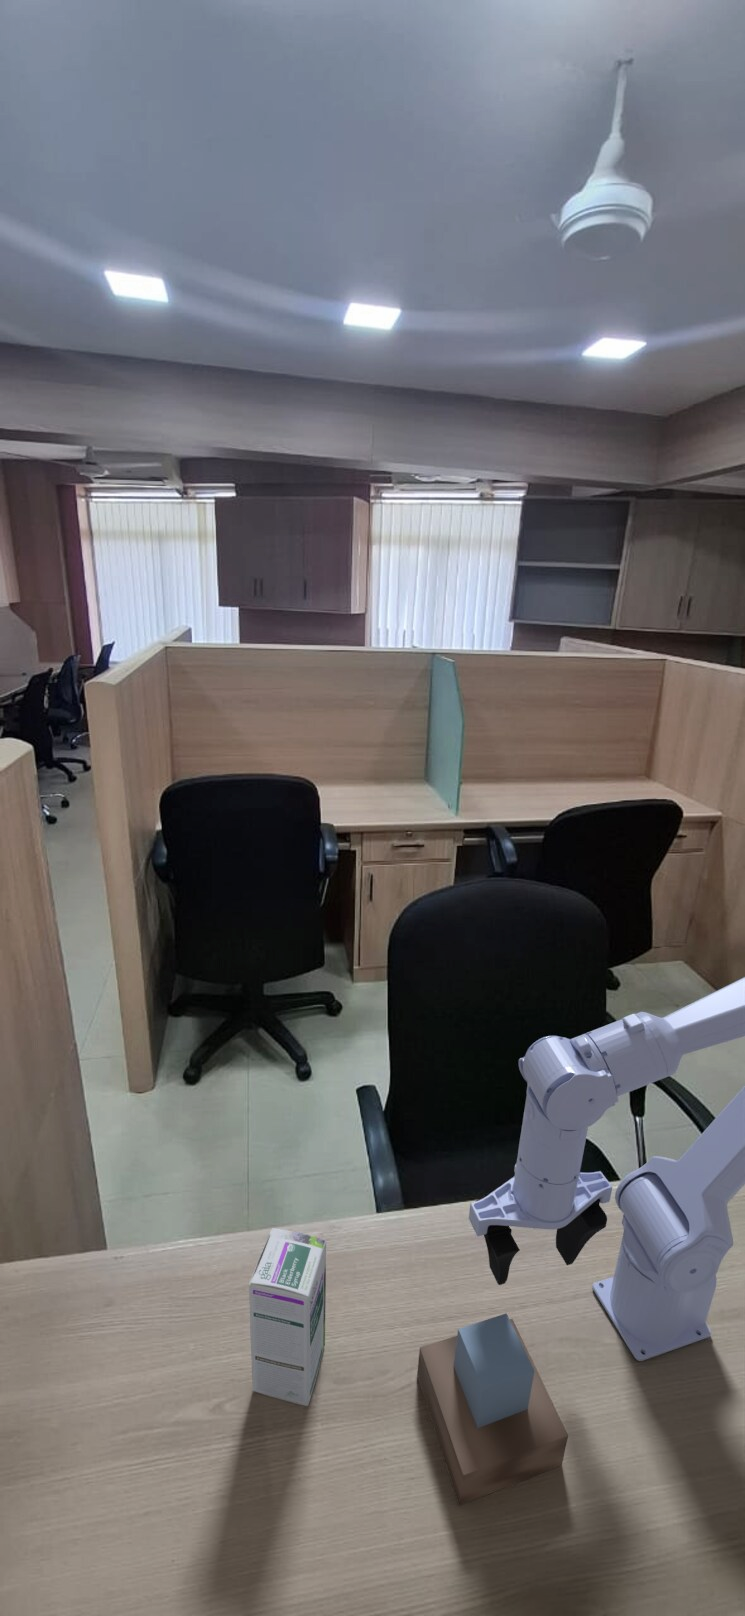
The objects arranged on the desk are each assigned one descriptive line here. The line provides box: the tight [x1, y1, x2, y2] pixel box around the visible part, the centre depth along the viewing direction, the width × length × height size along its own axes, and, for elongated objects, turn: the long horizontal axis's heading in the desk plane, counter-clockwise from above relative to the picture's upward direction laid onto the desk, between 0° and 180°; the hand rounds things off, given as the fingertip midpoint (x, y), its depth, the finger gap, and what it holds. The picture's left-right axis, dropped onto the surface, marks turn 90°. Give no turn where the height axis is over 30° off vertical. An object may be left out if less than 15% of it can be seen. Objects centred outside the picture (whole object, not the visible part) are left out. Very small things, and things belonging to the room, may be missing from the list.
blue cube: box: [454, 1313, 535, 1428], centre depth 59 cm, size 5×5×5 cm
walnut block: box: [416, 1318, 569, 1506], centre depth 60 cm, size 10×10×4 cm
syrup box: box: [248, 1227, 327, 1407], centre depth 62 cm, size 6×6×14 cm
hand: (531, 1264), depth 65 cm, fingers open, 7 cm apart
